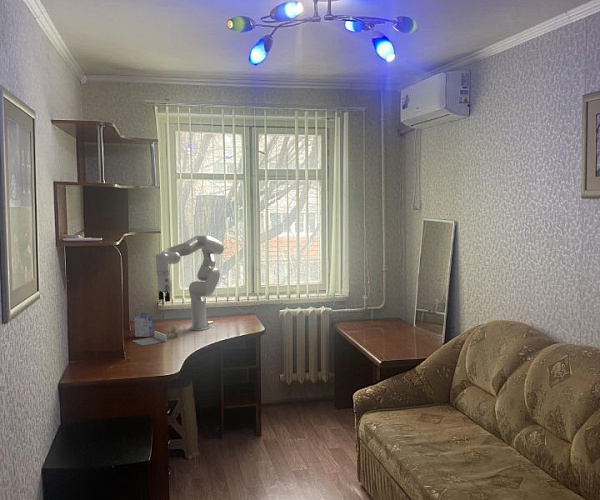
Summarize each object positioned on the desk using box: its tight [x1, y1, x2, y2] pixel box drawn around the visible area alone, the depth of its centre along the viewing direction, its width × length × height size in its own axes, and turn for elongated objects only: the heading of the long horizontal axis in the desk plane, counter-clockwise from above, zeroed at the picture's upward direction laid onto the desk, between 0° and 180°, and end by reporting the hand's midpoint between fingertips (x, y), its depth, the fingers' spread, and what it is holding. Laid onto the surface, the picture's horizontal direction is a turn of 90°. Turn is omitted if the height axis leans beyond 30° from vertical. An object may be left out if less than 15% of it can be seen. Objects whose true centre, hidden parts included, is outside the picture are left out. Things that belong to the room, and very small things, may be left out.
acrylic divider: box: [153, 330, 168, 343], centre depth 363 cm, size 1×16×4 cm, turn 37°
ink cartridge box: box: [134, 312, 154, 338], centre depth 374 cm, size 10×6×14 cm, turn 78°
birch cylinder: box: [168, 325, 178, 339], centre depth 368 cm, size 5×5×7 cm
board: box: [131, 336, 163, 347], centre depth 359 cm, size 13×16×1 cm
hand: (164, 300), depth 366 cm, fingers open, 9 cm apart
